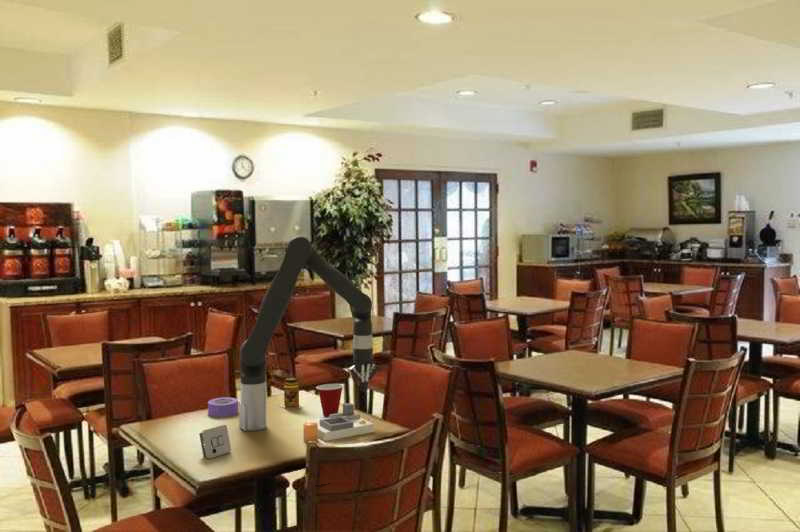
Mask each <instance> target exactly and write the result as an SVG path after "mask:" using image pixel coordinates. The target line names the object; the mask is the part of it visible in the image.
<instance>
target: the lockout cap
mask: <svg viewBox="0 0 800 532" xmlns="http://www.w3.org/2000/svg"><path fill="white" fill-rule="evenodd" d="M306 422H307V421H306ZM302 429H303V434H302V435H303V438H302V440H303V443H305V442H306V444H308V443H307V442H309V441H317V442H318V441H319V437H318V423H315V422H307V423H305V422H304V423H303V427H302Z"/></svg>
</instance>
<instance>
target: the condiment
mask: <svg viewBox="0 0 800 532" xmlns="http://www.w3.org/2000/svg"><path fill="white" fill-rule="evenodd" d="M283 391H284V392H283V400H284V401H283V403H284V404H280V405H278V406H279V407H281V408H283V405H284V406H285V408H286V409H285V408H284V409H285V410H287V411H289V410H296V409H300V408H303V406H302V405H300V386H299V379H298V378H296V377H287V378H285V379H284V387H283Z"/></svg>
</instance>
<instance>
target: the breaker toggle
mask: <svg viewBox="0 0 800 532" xmlns="http://www.w3.org/2000/svg"><path fill="white" fill-rule="evenodd" d="M354 406H355V405H354V404H353V403H351V402H348V403H347V402H346V403H343V404H342V413H343V416H348V415H354V414H355V408H354Z"/></svg>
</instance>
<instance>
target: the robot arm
mask: <svg viewBox="0 0 800 532" xmlns="http://www.w3.org/2000/svg"><path fill="white" fill-rule="evenodd" d="M304 266H305V267H307V268H308V269H310V270H311V271H312V272H313V273H315V274H316V276H318V278H320V279H321V280H322V281H323V282H324V283H325V284H326V285H327V286H328V287H329V288H330V289H331V290H332V291H334V292H335V293H336V294H337V295H338V296H339V297H341V298H342V299H343V300H344V301H346V303H347V304H349V306H350V307H351V308H352V309H353V337H352V340H353V341H352V352H353V353H352V355H353V363H352V366H351V367H349V368H347V372H348V373H349V374H350V375H351V376H352V378H353V379H354V380H355V381H357V382H359V383H358V384H359V385H358V387H359V391H360V392H367V391H368V387H369V386H368V385H369V381H370V380H373V377H374V376H375V375H376V373H377V371H378V369H379V365H376V364H375V363H374V360H373V358H374V348H373V347H374V342H373V341H374V340H373V324H372V307H373V302H372V301H373V300H372V299H371V297H370V296H369V294H366V293H364V292H363V291H362V290H360V289H359V288H358V287H357V286H356V285H355V284H354V283H353V282H352V281H351V280H350V279H349V278H348V277H347V276H346V275H344V273H342V272H341V271H340V270H339V269H338V268H336V267H335V266H334V265H332V264H331V263H329V262H328V261H327V260H325V258H323V257H322V256H321V254H319V252H318V251H317V250H316V249H315V247H314V246H312V243H311V241H310V240H309V239H308V238H307V237H305V236H303V235H302V236H301V235H299V236H295V237H292V239H290V241H288V243H287V245H286V249H285V253H284V256H283V259H282V262H281V265H280V267H279V270H278V271H277V272H276V275H275V276H274V277H273V279H272V281H271V282H270V284H269V286H268V288H267V290H266V292H265V295H264V297H263V298H262V299H263V300H262V301H261V303H260V307H259V310H258V313H257V317H256V321H255V323H254V326H253V329H252V331H251V333H250V334H249V336H248V338H247V339H246V340H245V341H244V342H243V343H242V344H241V346H240V355H239V357H240V359H239V360H240V361H239V362H240V401H238V415H239V417H238V419H239V420H238V421H239V422H238V425H239V428H240V429H242V430H243V431H245V432H246V431H253V432H254V431H259V430H263V429H265V428H267V373H266V371H267V370H266V356H267V352H268V348H269V346H270V343H271V340H272V337H273V335H274V333H275V331H276V329H277V328H278V326H279V324H280V322H281V321H282V318H283V317H284V314H285V313H286V310H287V308H288V306H289V303H290V301H291V300H292V299H291V298H292V296H293V294H294V290H295V287H296V284H297V280H298V277H299V275H300V272H301V271H302V269H303V267H304Z"/></svg>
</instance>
